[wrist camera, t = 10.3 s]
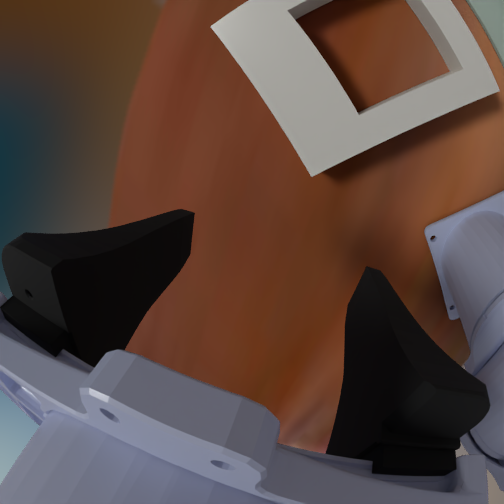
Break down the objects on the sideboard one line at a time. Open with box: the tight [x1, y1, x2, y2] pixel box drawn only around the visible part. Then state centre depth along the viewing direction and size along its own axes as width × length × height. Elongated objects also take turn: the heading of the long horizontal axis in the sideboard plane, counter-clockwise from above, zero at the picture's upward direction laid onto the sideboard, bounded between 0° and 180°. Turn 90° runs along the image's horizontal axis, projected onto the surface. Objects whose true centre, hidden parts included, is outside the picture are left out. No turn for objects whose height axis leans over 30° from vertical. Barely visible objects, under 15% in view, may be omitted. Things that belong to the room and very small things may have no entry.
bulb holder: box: [211, 0, 500, 177], centre depth 14 cm, size 12×14×2 cm
